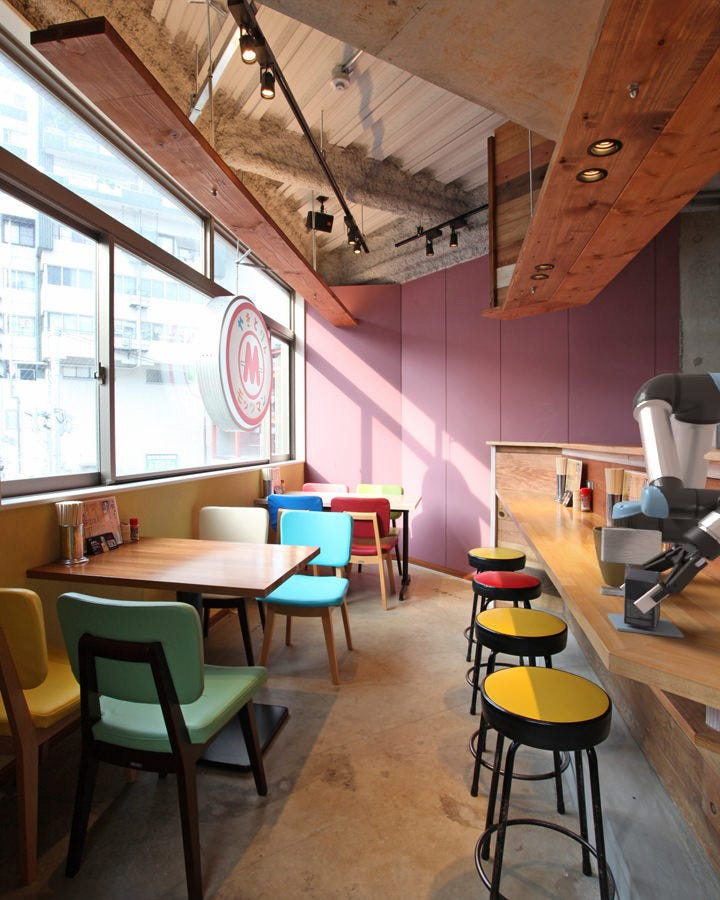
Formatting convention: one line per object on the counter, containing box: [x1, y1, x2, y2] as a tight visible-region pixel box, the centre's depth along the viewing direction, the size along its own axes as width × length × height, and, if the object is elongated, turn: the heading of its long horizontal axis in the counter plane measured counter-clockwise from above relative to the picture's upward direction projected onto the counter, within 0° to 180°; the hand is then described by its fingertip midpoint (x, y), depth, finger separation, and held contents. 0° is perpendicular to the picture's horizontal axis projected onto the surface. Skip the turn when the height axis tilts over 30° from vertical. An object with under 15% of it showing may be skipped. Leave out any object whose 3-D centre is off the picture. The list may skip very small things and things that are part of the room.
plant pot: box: [592, 525, 642, 588], centre depth 147 cm, size 15×15×16 cm
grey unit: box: [599, 527, 662, 597], centre depth 136 cm, size 4×14×18 cm, turn 75°
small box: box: [623, 569, 662, 630], centre depth 113 cm, size 11×6×10 cm, turn 144°
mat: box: [606, 612, 685, 639], centre depth 113 cm, size 10×13×1 cm
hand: (631, 599), depth 113 cm, fingers closed on small box, 12 cm apart
